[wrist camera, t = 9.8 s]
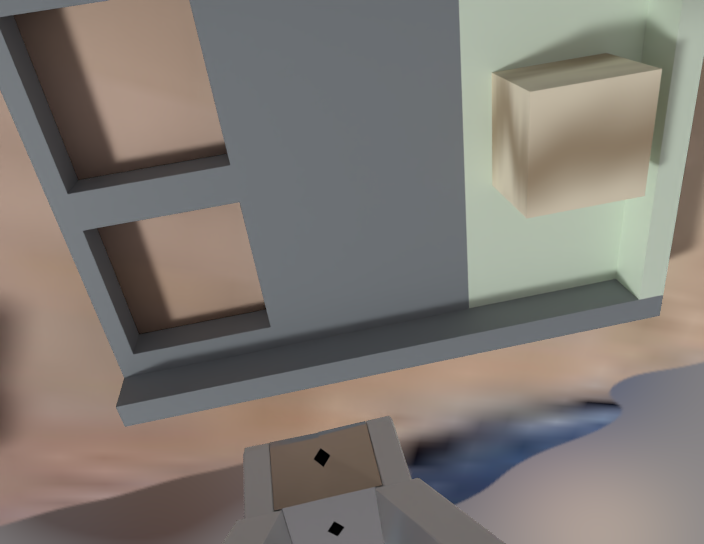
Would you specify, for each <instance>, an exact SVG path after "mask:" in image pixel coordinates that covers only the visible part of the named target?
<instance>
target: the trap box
mask: <svg viewBox="0 0 704 544" xmlns="http://www.w3.org/2000/svg"><path fill="white" fill-rule="evenodd" d="M101 1H107V0H0V90H1V93H2V95H3V97H4V100H5V102H6V104H7V107H8V109H9V111H10V114H11V116H12V118H13V121H14V123H15V125H16V128H17V130H18V132H19V135H20V137H21V139H22V141H23V144H24V146H25V148H26V151H27V153H28V155H29V158H30V160H31V162H32V165H33V167H34V169H35V172H36V174H37V176H38V179H39V181H40V183H41V186H42V188H43V190H44V193H45V195H46V197H47V200H48V202H49V204H50V206H51V209H52V211H53V213H54V216H55V218H56V220H57V223H58V225H59V227H60V230H61V232H62V234H63V237H64V239H65V241H66V244H67V246H68V248H69V251H70V253H71V255H72V258H73V260H74V262H75V264H76V267H77V269H78V271H79V274H80V276H81V278H82V281H83V283H84V285H85V288H86V290H87V292H88V295H89V297H90V299H91V302H92V304H93V306H94V309H95V311H96V313H97V316H98V318H99V320H100V322H101V325H102V327H103V329H104V332H105V334H106V336H107V339H108V341H109V343H110V346H111V348H112V350H113V353H114V355H115V357H116V360H117V362H118V364H119V367H120V369H121V371H122V374H123V376H124V381H123V384H122V388H121V391H120V395H119V398H118V402H117V405H116V408H117V410H118V413H119V415H120V417H121V419H122V421H123V424H124V426H125V427H126V426H130V425H135V424H140V423H145V422H150V421H155V420H159V419H164V418H169V417H174V416H179V415H183V414H188V413H193V412H198V411H203V410H208V409H212V408H217V407H222V406H227V405H232V404H236V403H241V402H246V401H251V400H256V399H261V398H265V397H270V396H275V395H280V394H285V393H289V392H294V391H299V390H304V389H309V388H313V387H318V386H323V385H328V384H333V383H338V382H342V381H347V380H352V379H357V378H362V377H366V376H371V375H376V374H381V373H386V372H391V371H395V370H400V369H405V368H410V367H415V366H419V365H424V364H429V363H434V362H439V361H444V360H448V359H453V358H458V357H463V356H468V355H472V354H477V353H482V352H487V351H492V350H497V349H501V348H506V347H511V346H516V345H521V344H525V343H530V342H535V341H540V340H545V339H550V338H554V337H559V336H564V335H569V334H574V333H578V332H583V331H588V330H593V329H598V328H602V327H607V326H612V325H617V324H622V323H627V322H631V321H636V320H641V319H646V318H651V317H655V316H660V310H661V304H662V298H663V293H664V287H665V281H666V275H667V269H668V263H669V257H670V251H671V246H672V240H673V234H674V228H675V222H676V216H677V210H678V204H679V198H680V193H681V187H682V181H683V175H684V169H685V163H686V157H687V151H688V146H689V140H690V134H691V128H692V122H693V116H694V110H695V104H696V99H697V93H698V87H699V81H700V75H701V69H702V63H703V57H704V0H189V1H190V5H191V9H192V13H193V17H194V21H195V25H196V29H197V33H198V37H199V41H200V45H201V49H202V53H203V57H204V61H205V65H206V69H207V73H208V77H209V81H210V85H211V89H212V93H213V97H214V101H215V105H216V109H217V113H218V117H219V121H220V125H221V129H222V133H223V137H224V141H225V145H226V149H227V153H228V154H223V155H218V156H212V157H206V158H201V159H195V160H189V161H184V162H178V163H172V164H167V165H161V166H155V167H150V168H144V169H138V170H133V171H127V172H121V173H116V174H110V175H104V176H99V177H93V178H87V179H82V180H78V179H77V176H76V174H75V171H74V169H73V166H72V163H71V161H70V158H69V156H68V153H67V151H66V148H65V146H64V143H63V141H62V138H61V136H60V133H59V131H58V128H57V125H56V123H55V120H54V118H53V115H52V113H51V110H50V108H49V105H48V103H47V100H46V98H45V95H44V93H43V90H42V87H41V85H40V82H39V80H38V77H37V75H36V72H35V70H34V67H33V65H32V62H31V60H30V57H29V54H28V52H27V49H26V47H25V44H24V42H23V39H22V37H21V34H20V32H19V29H18V27H17V24H16V22H15V19H14V16H13V15H17V14H24V13H30V12H37V11H43V10H49V9H56V8H62V7H69V6H75V5H82V4H88V3H95V2H101ZM603 53H608V54H612V55H615V56H619V57H622V58H626V59H629V60H633V61H636V62H640V63H643V64H647V65H650V66H654V67H657V68H661V69H662V74H661V81H660V88H659V96H658V103H657V110H656V117H655V125H654V132H653V139H652V146H651V154H650V161H649V168H648V175H647V183H646V190H645V196H642V197H637V198H632V199H626V200H621V201H616V202H611V203H605V204H600V205H595V206H590V207H584V208H579V209H574V210H569V211H563V212H558V213H553V214H548V215H542V216H537V217H532V218H526V217H525V216H524V215H523V214H522V213H521V212H519V211H518V210H517V209H516V208H515V207H514V206H513V205H512V204H511V203H510V202H509V201H508V200H507V199H506V198H505V197H504V196H503V195H502V194H501V193H500V192H499V191H498V190H497V189H496V188H495V187H493V186H492V72H498V71H504V70H510V69H515V68H521V67H527V66H533V65H539V64H545V63H551V62H556V61H562V60H568V59H574V58H580V57H586V56H592V55H597V54H603ZM237 202H240V206H241V210H242V214H243V218H244V222H245V226H246V230H247V234H248V238H249V242H250V246H251V250H252V254H253V258H254V262H255V266H256V270H257V274H258V278H259V282H260V286H261V290H262V294H263V298H264V302H265V306H266V310H261V311H256V312H251V313H246V314H241V315H236V316H231V317H225V318H220V319H215V320H210V321H205V322H200V323H195V324H190V325H185V326H180V327H175V328H170V329H164V330H159V331H154V332H149V333H144V334H139V333H138V331H137V328H136V326H135V323H134V321H133V318H132V316H131V313H130V310H129V308H128V305H127V303H126V300H125V298H124V295H123V293H122V290H121V288H120V285H119V283H118V280H117V278H116V275H115V272H114V270H113V267H112V265H111V262H110V260H109V257H108V255H107V252H106V250H105V247H104V245H103V242H102V239H101V237H100V234H99V232H98V229H97V228H100V227H106V226H111V225H117V224H122V223H128V222H133V221H139V220H144V219H150V218H155V217H160V216H166V215H171V214H177V213H182V212H188V211H193V210H199V209H204V208H210V207H215V206H221V205H226V204H232V203H237Z"/></svg>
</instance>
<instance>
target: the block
mask: <svg viewBox="0 0 704 544" xmlns="http://www.w3.org/2000/svg"><path fill="white" fill-rule="evenodd" d="M661 74H662V69H661V68H657V67H654V66H650V65H647V64H643V63H640V62H636V61H633V60H629V59H626V58H622V57H619V56H615V55H612V54H608V53H603V54H597V55H592V56H586V57H580V58H574V59H568V60H562V61H556V62H551V63H545V64H539V65H533V66H527V67H521V68H515V69H510V70H504V71H498V72H492V186H493V187H495V188H496V189H497V190H498V191H499V192H500V193H501V194H502V195H503V196H504V197H505V198H506V199H507V200H508V201H509V202H510V203H511V204H512V205H513V206H514V207H515V208H516V209H517V210H518V211H519V212H521V213H522V214H523V215H524V216H525V217H526V218H532V217H537V216H542V215H548V214H553V213H558V212H563V211H569V210H574V209H579V208H584V207H590V206H595V205H600V204H605V203H611V202H616V201H621V200H626V199H632V198H637V197H642V196H645V190H646V183H647V175H648V168H649V161H650V154H651V146H652V139H653V132H654V125H655V117H656V110H657V103H658V96H659V88H660V81H661Z"/></svg>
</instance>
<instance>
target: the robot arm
mask: <svg viewBox="0 0 704 544" xmlns="http://www.w3.org/2000/svg"><path fill="white" fill-rule="evenodd" d="M243 468H244V469H243V470H244V519H241V520H237V521H236V523H235V524H234V526H233V528H232V529H231V531H230V533H229V534H228V536H227V537H226V539H225V540H224V542H223V544H505V543H504V542H502V541H501V540H500V539H499V538H497V537H496V536H495V535H493V534H492V533H491V532H489V531H488V530H487V529H485V528H484V527H483V526H481V525H480V524H479V523H477V522H476V521H475V520H473V519H472V518H471V517H469V516H468V515H467V514H466V513H464V512H463V511H462V510H460V509H459V508H458V507H456V506H455V505H454V504H452V503H451V502H450V501H448V500H447V499H446V498H444V497H443V496H442V495H441V494H439V493H438V492H437V491H435V490H434V489H433V488H431V487H430V486H429V485H427V484H426V483H425V482H423V481H422V480H421V479H419V478H416V479H411V476H410V473H409V470H408V467H407V464H406V461H405V458H404V455H403V452H402V448H401V445H400V442H399V439H398V436H397V433H396V430H395V427H394V424H393V421H392V418H391V417H390V416H386V417H382V418H377V419H373V420H369V421H366V423H365V421H364V422H360V423H355V424H351V425H347V426H343V427H338V428H334V429H330V430H326V431H321V432H318V433H315V434H310V435H305V436H300V437H295V438H290V439H285V440H280V441H275V442H270V443H267V444H262V445H257V446H252V447H247V448H245V450H244V454H243Z"/></svg>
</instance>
